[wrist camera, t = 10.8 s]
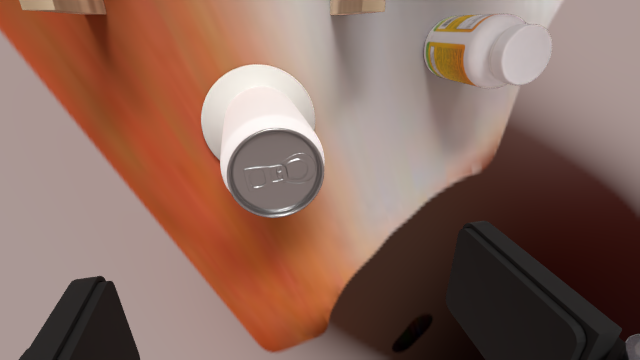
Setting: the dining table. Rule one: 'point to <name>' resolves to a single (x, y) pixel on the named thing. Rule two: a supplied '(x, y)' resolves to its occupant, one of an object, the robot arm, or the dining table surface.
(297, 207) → the can
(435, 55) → the supplement bottle
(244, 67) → the coaster
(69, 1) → the wooden arch stand
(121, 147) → the dining table surface
